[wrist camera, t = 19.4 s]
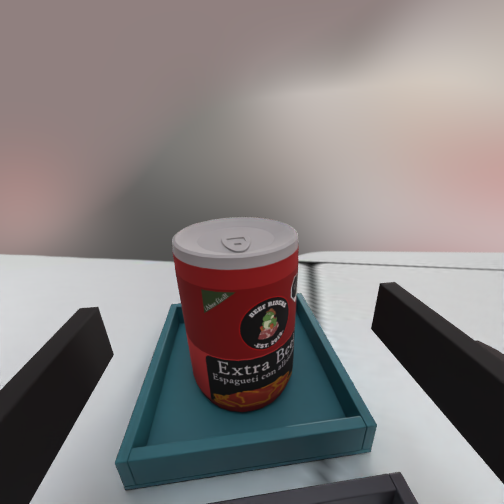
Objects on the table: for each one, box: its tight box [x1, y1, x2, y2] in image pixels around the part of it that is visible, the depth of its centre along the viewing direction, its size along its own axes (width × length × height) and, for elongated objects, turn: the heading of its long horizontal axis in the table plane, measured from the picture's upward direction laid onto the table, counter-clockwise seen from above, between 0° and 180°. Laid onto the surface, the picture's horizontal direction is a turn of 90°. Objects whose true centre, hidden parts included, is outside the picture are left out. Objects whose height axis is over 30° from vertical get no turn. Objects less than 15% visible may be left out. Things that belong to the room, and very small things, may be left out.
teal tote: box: [115, 293, 377, 490], centre depth 18 cm, size 13×13×2 cm
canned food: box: [172, 217, 299, 412], centre depth 17 cm, size 8×8×11 cm
